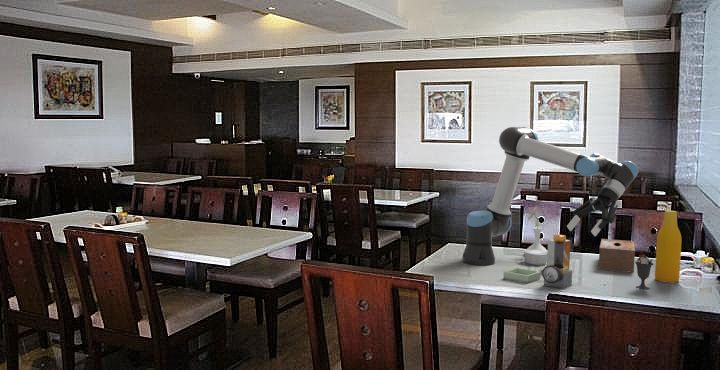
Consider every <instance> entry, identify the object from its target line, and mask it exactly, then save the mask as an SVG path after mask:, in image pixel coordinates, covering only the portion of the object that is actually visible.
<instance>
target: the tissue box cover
mask: <svg viewBox="0 0 720 370" xmlns="http://www.w3.org/2000/svg"><path fill="white" fill-rule="evenodd" d="M635 253H636V247H635V241H634V240H622V239H621V240H620V239H609V238H608V239H607V238H601V241H600V245H599V255H598V256H599V257H598V270H602V271H603V270H604V271H613V270H614V271H615V272H622V271H631V272H630V273H633V272H634V273H635V257H636V256H635V255H636V254H635Z"/></svg>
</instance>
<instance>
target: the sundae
mask: <svg viewBox="0 0 720 370" xmlns="http://www.w3.org/2000/svg"><path fill="white" fill-rule="evenodd" d="M637 251H638V252H639V255H638V258H637V259H636V261H634V264H636V272H637V276H638V278H640V280H641V281H640V284H639V285H637V286H635V288H636V289H638V288H639V290H644V289H646V291H647V290H650V287H648V286H647V285H646V283H645V282H646V281H645V280H646V279H648V278H649V277H650V273H651V268H652V266H654V265H655V264H654V263H653V259H654V258H651V259H650V258H649V257H648V256H646V255H645V254H644V253H643V252H642V251H641V250H640V249H639V250H637Z"/></svg>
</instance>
